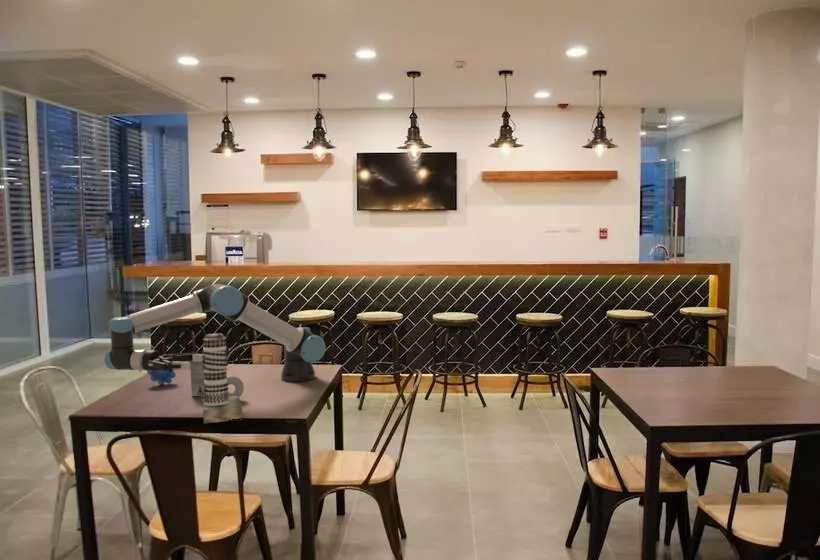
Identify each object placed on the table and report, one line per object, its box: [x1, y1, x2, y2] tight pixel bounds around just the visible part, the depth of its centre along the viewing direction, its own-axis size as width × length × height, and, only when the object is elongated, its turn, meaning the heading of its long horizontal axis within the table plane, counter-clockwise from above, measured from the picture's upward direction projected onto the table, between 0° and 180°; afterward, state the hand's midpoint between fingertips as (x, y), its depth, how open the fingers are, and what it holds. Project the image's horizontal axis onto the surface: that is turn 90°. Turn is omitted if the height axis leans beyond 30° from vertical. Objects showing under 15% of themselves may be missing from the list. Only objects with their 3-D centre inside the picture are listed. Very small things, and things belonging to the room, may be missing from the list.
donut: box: [226, 375, 245, 398], centre depth 248 cm, size 10×4×10 cm, turn 101°
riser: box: [202, 396, 243, 424], centre depth 228 cm, size 13×14×5 cm
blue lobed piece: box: [146, 368, 176, 386], centre depth 273 cm, size 12×7×12 cm, turn 115°
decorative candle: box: [201, 333, 229, 406], centre depth 225 cm, size 9×9×25 cm
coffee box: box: [189, 361, 205, 398], centre depth 257 cm, size 9×6×16 cm
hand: (199, 361), depth 227 cm, fingers open, 13 cm apart
